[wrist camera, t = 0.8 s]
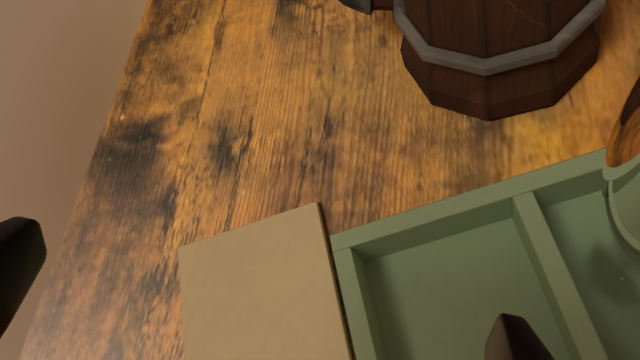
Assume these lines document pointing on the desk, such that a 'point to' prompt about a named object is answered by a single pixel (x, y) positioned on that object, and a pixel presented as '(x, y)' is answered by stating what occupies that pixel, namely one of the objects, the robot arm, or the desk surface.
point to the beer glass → (619, 216)
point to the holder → (484, 271)
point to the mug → (494, 50)
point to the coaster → (263, 292)
